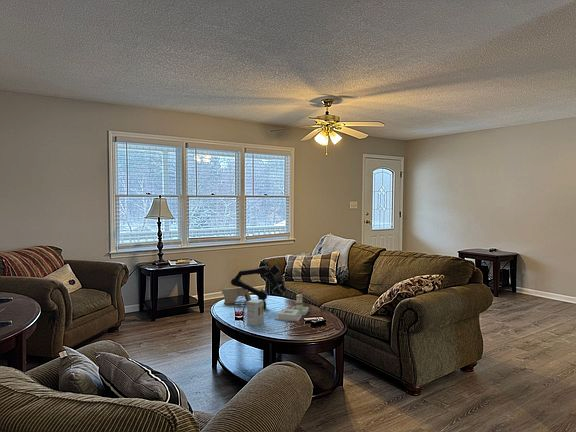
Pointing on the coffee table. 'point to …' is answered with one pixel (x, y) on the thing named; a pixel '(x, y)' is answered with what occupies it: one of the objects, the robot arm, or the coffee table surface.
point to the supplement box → (255, 312)
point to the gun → (235, 295)
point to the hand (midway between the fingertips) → (284, 293)
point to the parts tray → (304, 312)
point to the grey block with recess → (288, 315)
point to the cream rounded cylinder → (299, 302)
